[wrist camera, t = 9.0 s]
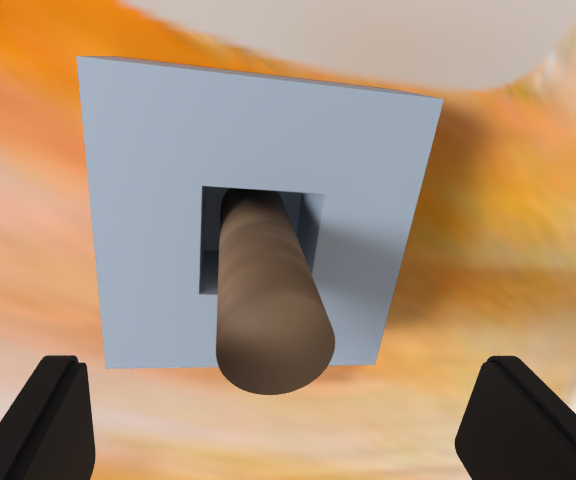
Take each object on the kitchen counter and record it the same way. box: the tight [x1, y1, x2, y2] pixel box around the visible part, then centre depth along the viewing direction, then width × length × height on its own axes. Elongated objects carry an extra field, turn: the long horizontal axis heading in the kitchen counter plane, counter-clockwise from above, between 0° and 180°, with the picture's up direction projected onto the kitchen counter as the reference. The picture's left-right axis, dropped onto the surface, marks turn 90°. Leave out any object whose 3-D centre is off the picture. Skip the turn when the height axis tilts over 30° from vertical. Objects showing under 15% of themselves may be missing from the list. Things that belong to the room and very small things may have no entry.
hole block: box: [76, 56, 444, 369], centre depth 17 cm, size 12×12×4 cm
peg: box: [216, 188, 335, 395], centre depth 14 cm, size 3×3×10 cm
